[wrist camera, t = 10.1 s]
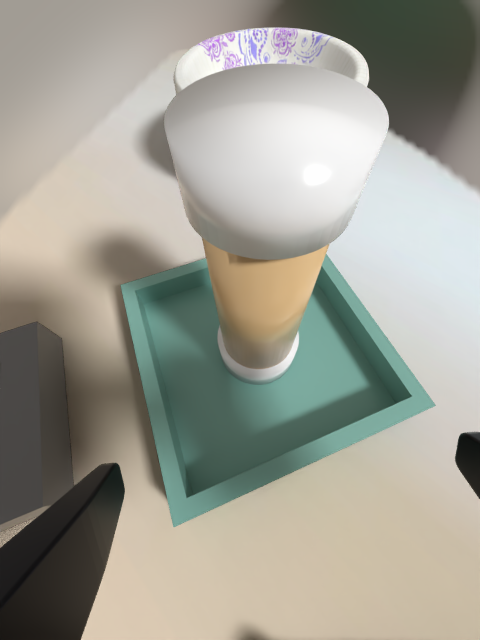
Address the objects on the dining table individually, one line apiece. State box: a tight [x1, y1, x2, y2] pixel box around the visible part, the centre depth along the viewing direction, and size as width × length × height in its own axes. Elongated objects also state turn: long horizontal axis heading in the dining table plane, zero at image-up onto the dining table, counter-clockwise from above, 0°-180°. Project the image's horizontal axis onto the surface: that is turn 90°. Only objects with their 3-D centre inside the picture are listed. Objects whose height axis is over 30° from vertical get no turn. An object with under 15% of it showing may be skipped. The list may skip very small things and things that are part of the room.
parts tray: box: [121, 254, 436, 527], centre depth 17 cm, size 14×14×2 cm
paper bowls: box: [174, 28, 369, 95], centre depth 24 cm, size 15×15×8 cm
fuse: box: [164, 64, 389, 385], centre depth 11 cm, size 5×5×13 cm
